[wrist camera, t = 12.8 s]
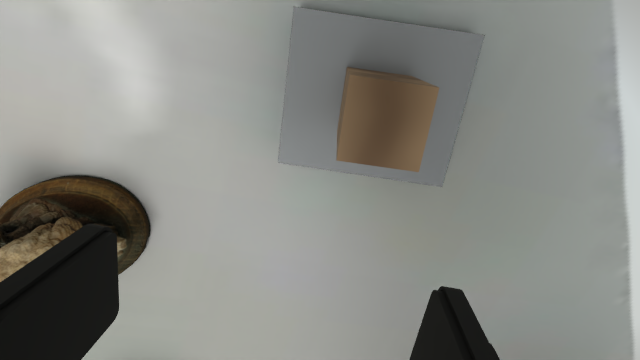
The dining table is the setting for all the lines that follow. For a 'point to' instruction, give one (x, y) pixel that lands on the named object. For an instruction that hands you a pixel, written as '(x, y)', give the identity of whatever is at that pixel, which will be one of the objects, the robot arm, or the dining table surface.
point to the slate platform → (378, 55)
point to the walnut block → (384, 119)
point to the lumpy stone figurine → (69, 219)
